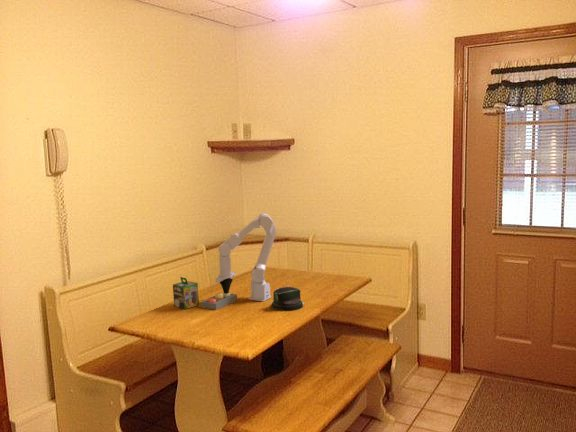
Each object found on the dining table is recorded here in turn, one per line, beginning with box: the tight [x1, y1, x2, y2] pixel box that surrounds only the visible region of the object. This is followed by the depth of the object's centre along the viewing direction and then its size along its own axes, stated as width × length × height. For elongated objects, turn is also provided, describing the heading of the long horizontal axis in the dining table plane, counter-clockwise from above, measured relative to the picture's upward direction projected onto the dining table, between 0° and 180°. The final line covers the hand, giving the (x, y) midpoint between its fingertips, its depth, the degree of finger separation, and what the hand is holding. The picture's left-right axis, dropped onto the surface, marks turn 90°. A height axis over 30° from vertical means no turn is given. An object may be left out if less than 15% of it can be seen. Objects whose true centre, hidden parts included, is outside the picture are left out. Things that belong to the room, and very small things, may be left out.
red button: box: [207, 297, 216, 303], centre depth 267 cm, size 4×4×3 cm
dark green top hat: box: [267, 286, 305, 312], centre depth 265 cm, size 20×20×9 cm
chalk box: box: [172, 276, 200, 310], centre depth 269 cm, size 9×9×15 cm
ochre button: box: [214, 292, 224, 300], centre depth 272 cm, size 4×4×3 cm
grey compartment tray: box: [200, 291, 238, 311], centre depth 272 cm, size 9×18×3 cm, turn 151°
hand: (226, 293), depth 277 cm, fingers closed
